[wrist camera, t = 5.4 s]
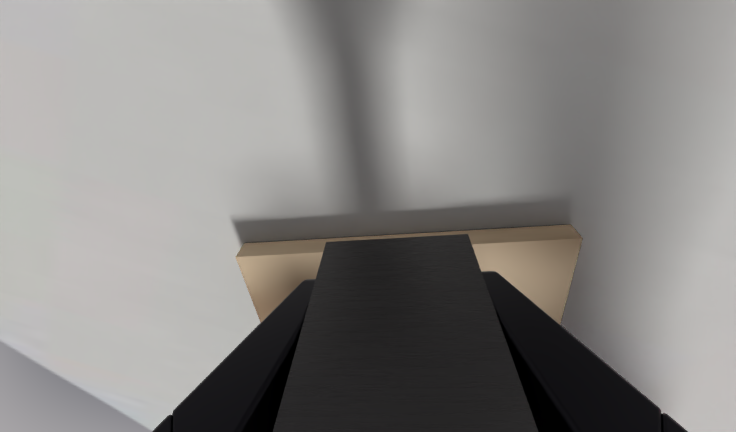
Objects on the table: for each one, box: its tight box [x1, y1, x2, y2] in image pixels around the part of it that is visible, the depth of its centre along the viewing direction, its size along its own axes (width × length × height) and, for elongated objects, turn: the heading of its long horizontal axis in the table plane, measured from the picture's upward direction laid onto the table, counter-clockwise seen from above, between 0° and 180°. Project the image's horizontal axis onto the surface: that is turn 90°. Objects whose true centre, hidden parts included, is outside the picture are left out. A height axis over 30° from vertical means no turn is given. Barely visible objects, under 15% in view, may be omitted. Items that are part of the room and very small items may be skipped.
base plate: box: [236, 224, 583, 324], centre depth 20 cm, size 23×14×1 cm, turn 6°
